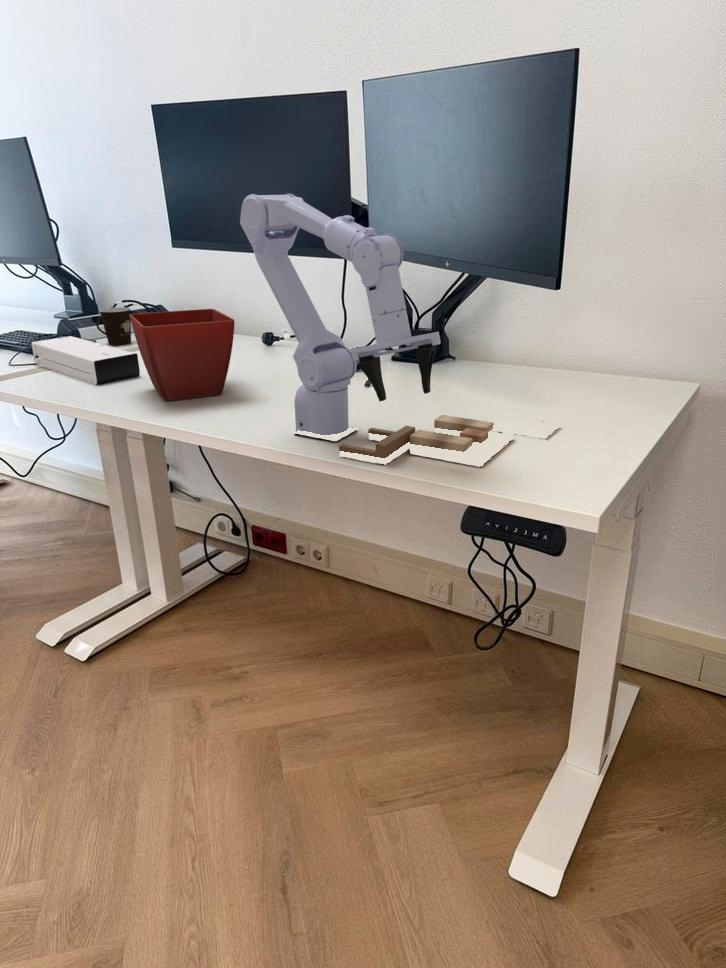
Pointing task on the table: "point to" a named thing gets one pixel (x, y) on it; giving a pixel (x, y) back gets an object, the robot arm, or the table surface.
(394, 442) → the wooden c-shaped piece
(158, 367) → the plant pot
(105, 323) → the coffee mug
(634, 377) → the table surface
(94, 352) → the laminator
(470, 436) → the wooden u-shaped block
